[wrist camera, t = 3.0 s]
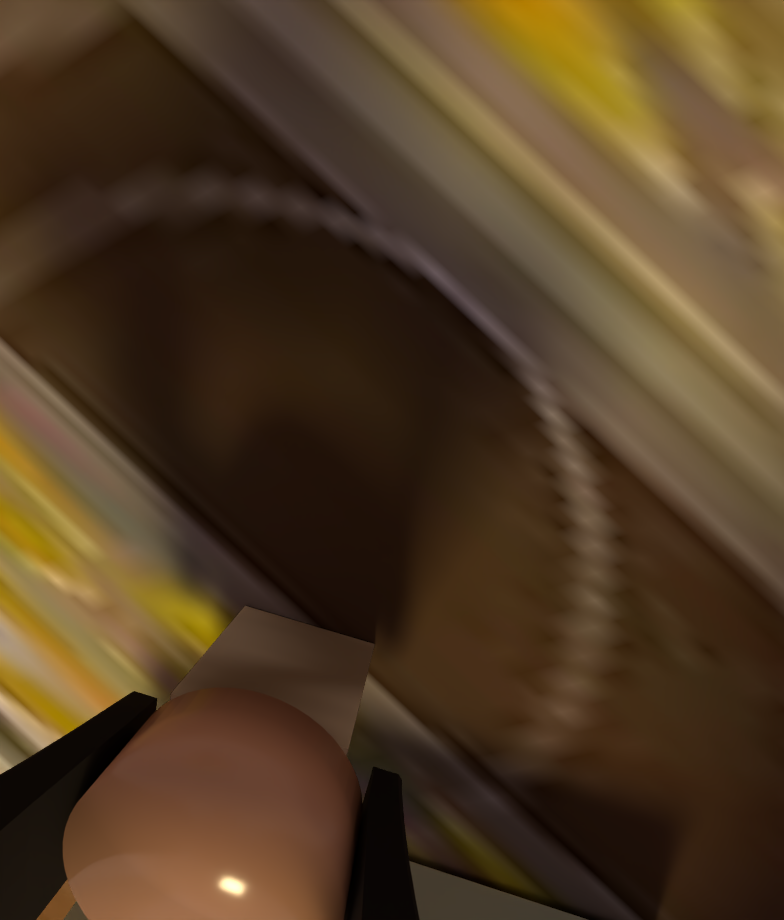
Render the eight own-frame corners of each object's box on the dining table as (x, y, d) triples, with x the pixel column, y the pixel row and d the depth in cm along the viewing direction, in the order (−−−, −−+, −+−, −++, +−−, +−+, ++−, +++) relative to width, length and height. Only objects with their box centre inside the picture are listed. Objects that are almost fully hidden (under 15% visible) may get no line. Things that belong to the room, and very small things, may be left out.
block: (374, 644, 12) (348, 749, 9) (345, 752, 13) (312, 884, 10) (244, 605, 13) (170, 693, 9) (225, 714, 13) (151, 831, 10)
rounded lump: (388, 732, 9) (374, 824, 7) (334, 916, 10) (311, 1033, 8) (144, 657, 9) (72, 726, 7) (120, 843, 10) (54, 941, 8)
